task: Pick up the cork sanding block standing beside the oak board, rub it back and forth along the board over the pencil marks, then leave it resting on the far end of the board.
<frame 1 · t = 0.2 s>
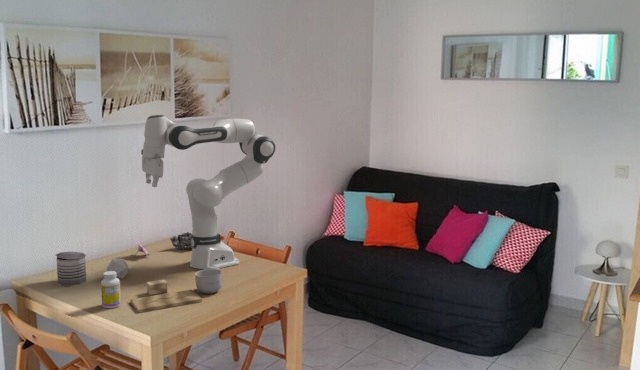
hand: (151, 185, 270), 39 cm above the table, tool pointing down, fingers open, 8 cm apart
sanding block: (157, 293, 251), on the table
can: (72, 282, 263), on the table
die: (118, 277, 270), on the table
board: (166, 302, 241), on the table
teacup: (211, 290, 255), on the table
lily: (142, 257, 300), on the table
supplement bottle: (111, 306, 237), on the table
mineral specimen: (187, 249, 314), on the table
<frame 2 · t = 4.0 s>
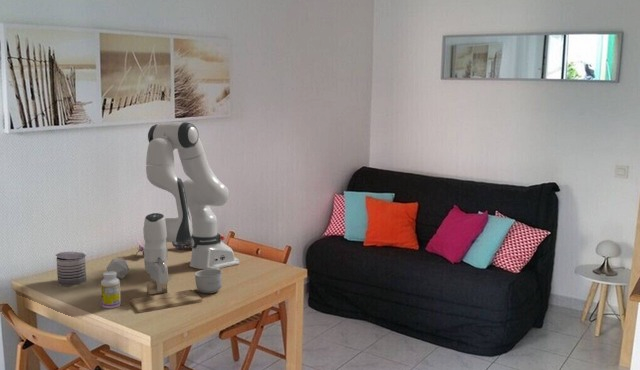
hand: (157, 288, 251), 2 cm above the table, tool pointing down, fingers closed on sanding block, 4 cm apart
sanding block: (157, 292, 251), on the table, touching gripper
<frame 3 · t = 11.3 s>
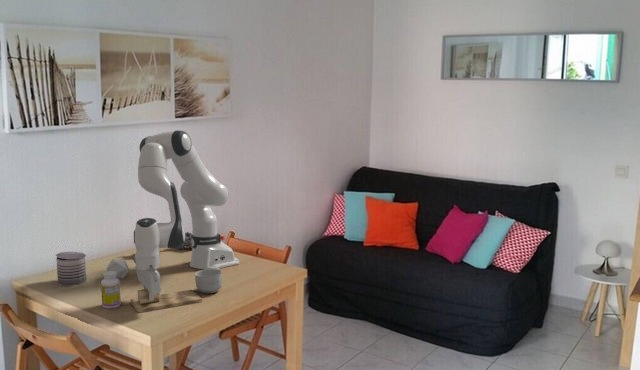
hand: (149, 297, 237), 3 cm above the table, tool pointing down, fingers closed on sanding block, 4 cm apart
sanding block: (148, 301, 238), point 1 cm above the table, touching gripper
when the fingers open (3 cm above the table, at t = 16.1 s): sanding block stays where it is, resting on board.
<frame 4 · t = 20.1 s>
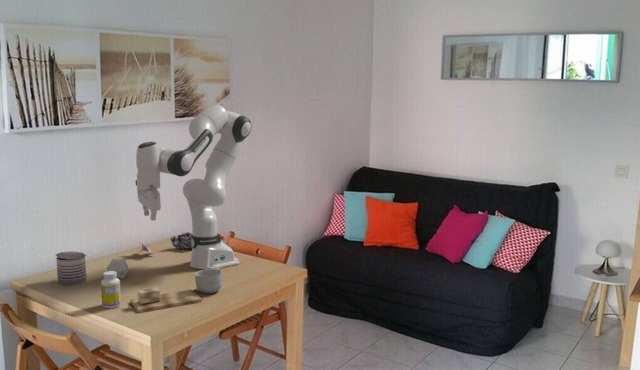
hand: (149, 217, 252), 29 cm above the table, tool pointing down, fingers open, 8 cm apart
sanding block: (149, 301, 238), point 1 cm above the table, touching board
at the end: sanding block inside the target area (0.5 cm from its centre), point 1.2 cm above the table; sanding block tilted 0°; the gripper is holding nothing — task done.
